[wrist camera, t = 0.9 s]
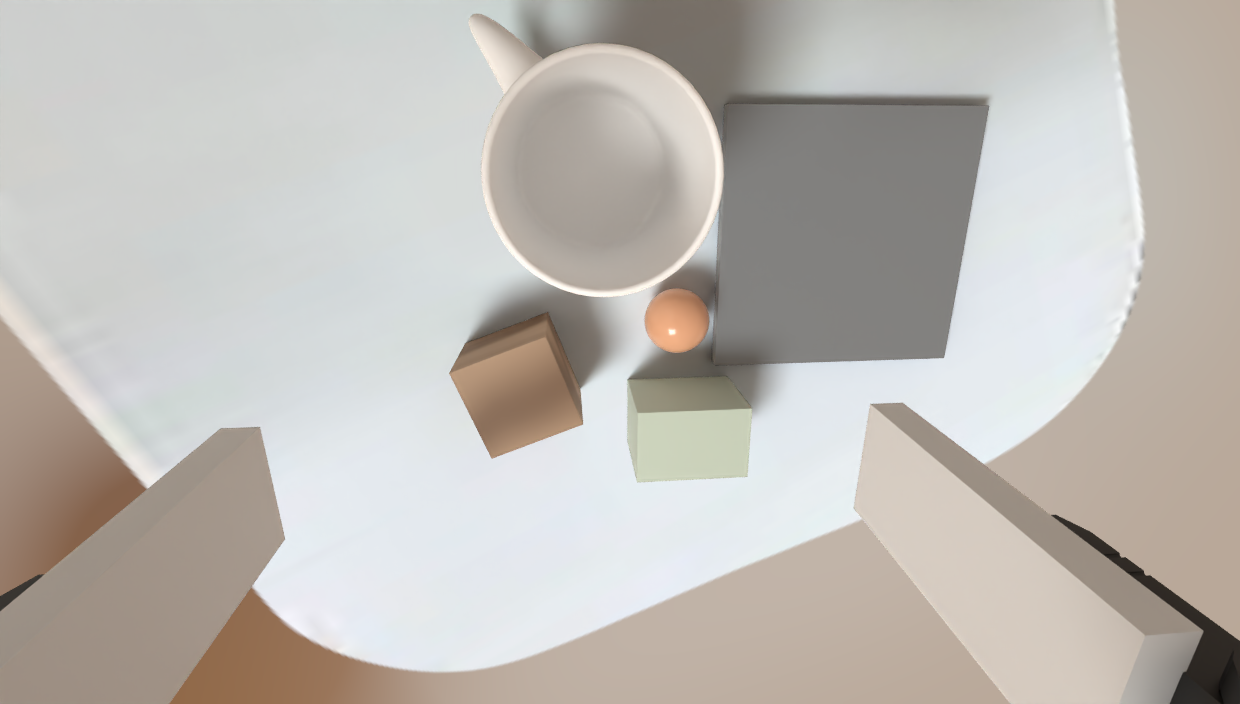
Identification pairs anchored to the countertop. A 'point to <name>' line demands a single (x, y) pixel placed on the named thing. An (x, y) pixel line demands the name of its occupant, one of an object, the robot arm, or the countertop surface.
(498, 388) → the walnut block
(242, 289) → the countertop surface
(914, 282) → the plate
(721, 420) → the sage block
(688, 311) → the terracotta ball
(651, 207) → the mug
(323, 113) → the countertop surface
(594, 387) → the countertop surface
